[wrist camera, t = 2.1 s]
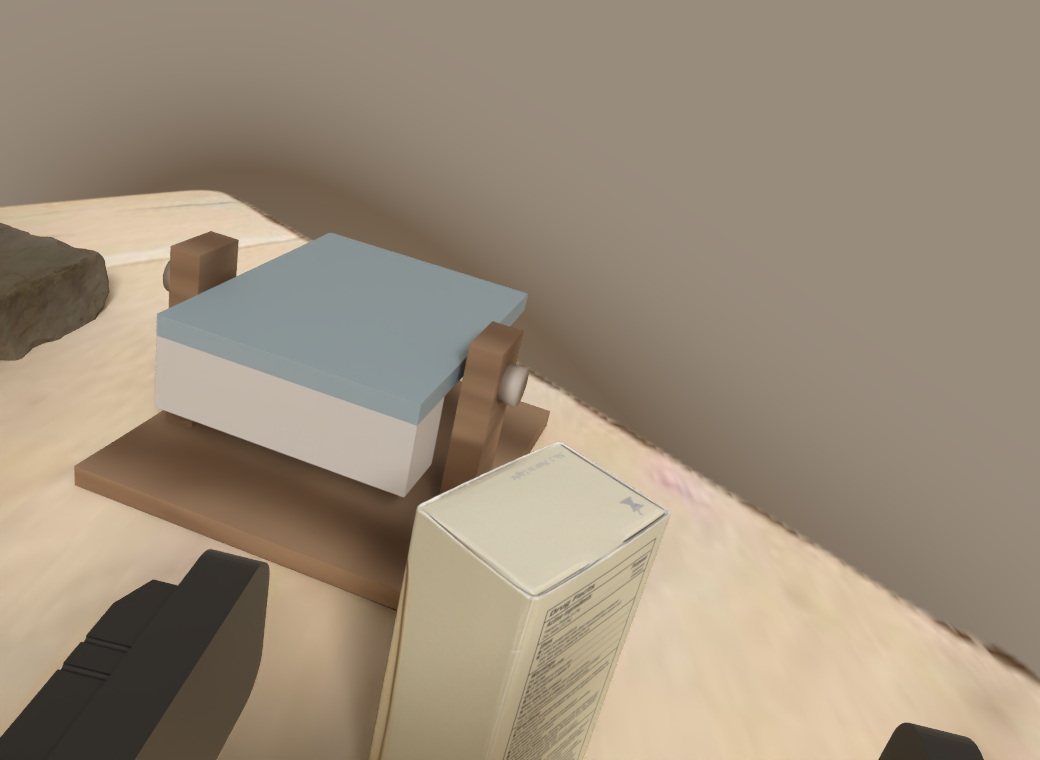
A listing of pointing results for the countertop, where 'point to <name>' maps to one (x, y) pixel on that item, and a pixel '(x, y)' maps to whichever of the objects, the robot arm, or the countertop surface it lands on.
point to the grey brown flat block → (45, 290)
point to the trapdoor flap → (330, 356)
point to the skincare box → (515, 611)
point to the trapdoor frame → (303, 486)
